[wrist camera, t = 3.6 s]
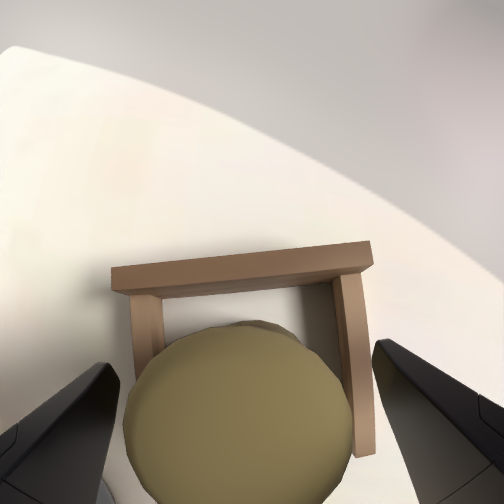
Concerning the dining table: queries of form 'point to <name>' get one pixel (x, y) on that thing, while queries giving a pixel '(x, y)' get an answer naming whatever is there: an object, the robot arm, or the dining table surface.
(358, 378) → the holder
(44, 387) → the dining table surface
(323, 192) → the dining table surface
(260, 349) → the cork
